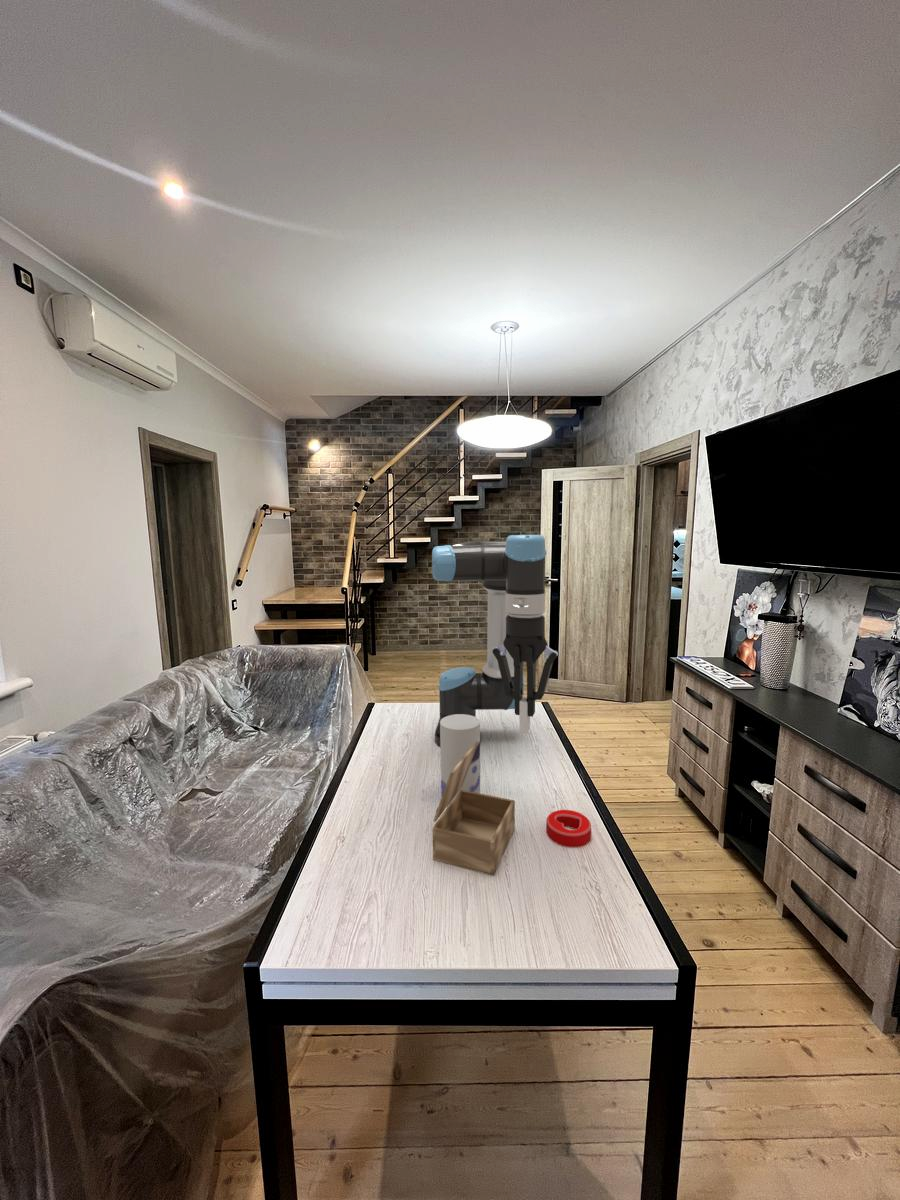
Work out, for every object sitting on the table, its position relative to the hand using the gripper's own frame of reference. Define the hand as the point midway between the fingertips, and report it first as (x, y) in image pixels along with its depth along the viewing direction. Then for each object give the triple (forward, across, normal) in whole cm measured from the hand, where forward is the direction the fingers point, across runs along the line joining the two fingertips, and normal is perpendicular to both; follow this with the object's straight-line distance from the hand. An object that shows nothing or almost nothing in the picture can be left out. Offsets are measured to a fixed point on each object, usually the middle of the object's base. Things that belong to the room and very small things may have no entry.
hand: (524, 730), depth 97 cm
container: (+27, -20, +17) cm, 38 cm away
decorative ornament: (+27, +8, +11) cm, 30 cm away
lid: (+13, -14, 0) cm, 20 cm away
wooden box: (+27, -11, 0) cm, 29 cm away
